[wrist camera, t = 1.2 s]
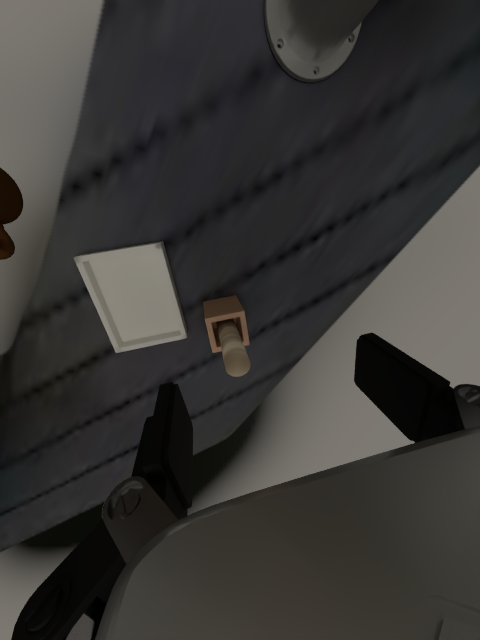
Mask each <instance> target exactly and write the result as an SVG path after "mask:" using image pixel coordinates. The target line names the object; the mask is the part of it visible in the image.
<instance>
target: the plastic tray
mask: <svg viewBox="0 0 480 640" xmlns="http://www.w3.org/2000/svg"><path fill="white" fill-rule="evenodd" d="M73 258H74V260H75V262H76V264H77V267H78V269H79V271H80V273H81V275H82V278H83V280H84V282H85V284H86V287H87V289H88V291H89V293H90V296H91V298H92V300H93V302H94V305H95V307H96V309H97V311H98V314H99V316H100V318H101V320H102V323H103V325H104V327H105V329H106V331H107V334H108V336H109V338H110V340H111V343H112V345H113V347H114V349H115V352H116V353H119V352H123V351H128V350H133V349H138V348H142V347H147V346H152V345H157V344H161V343H166V342H171V341H175V340H180V339H185V338H187V327H186V323H185V320H184V316H183V312H182V309H181V305H180V301H179V298H178V294H177V290H176V287H175V283H174V279H173V276H172V272H171V268H170V265H169V261H168V257H167V254H166V250H165V246H164V243H163V241H161V242H154V243H148V244H142V245H136V246H130V247H124V248H118V249H112V250H106V251H100V252H94V253H88V254H82V255H79V256H76V257H73Z"/></svg>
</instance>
